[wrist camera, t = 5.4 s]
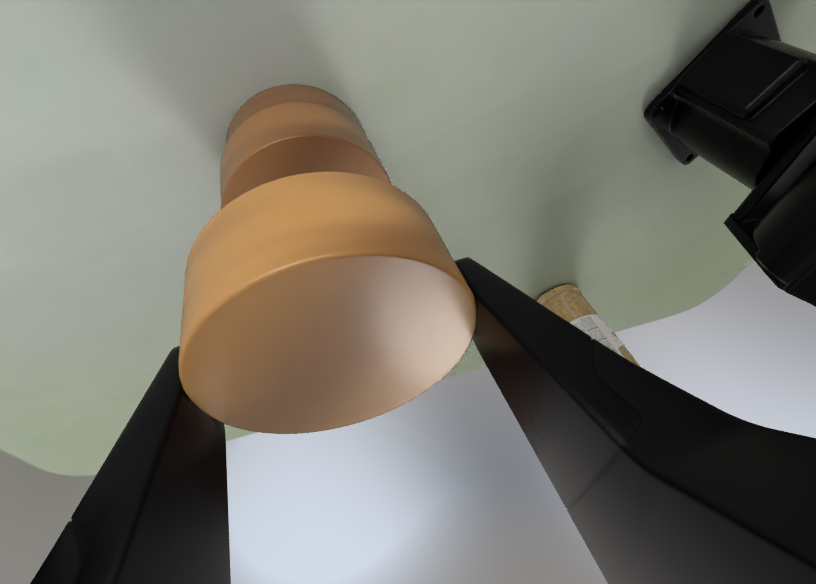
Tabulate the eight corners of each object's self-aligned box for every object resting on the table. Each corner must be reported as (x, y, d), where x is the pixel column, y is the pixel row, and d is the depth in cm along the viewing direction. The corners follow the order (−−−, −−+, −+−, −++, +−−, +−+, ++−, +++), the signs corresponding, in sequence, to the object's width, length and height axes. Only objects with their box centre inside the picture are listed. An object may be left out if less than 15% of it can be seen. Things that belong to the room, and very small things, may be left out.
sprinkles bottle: (577, 303, 35) (694, 450, 27) (530, 326, 35) (630, 479, 27) (577, 272, 32) (712, 431, 23) (524, 298, 32) (638, 464, 23)
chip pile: (393, 126, 18) (431, 186, 15) (326, 227, 21) (346, 296, 18) (255, 40, 14) (268, 96, 11) (196, 179, 17) (192, 256, 14)
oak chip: (483, 232, 10) (531, 301, 9) (358, 365, 13) (377, 437, 12) (256, 111, 7) (268, 194, 5) (148, 332, 9) (133, 432, 8)
